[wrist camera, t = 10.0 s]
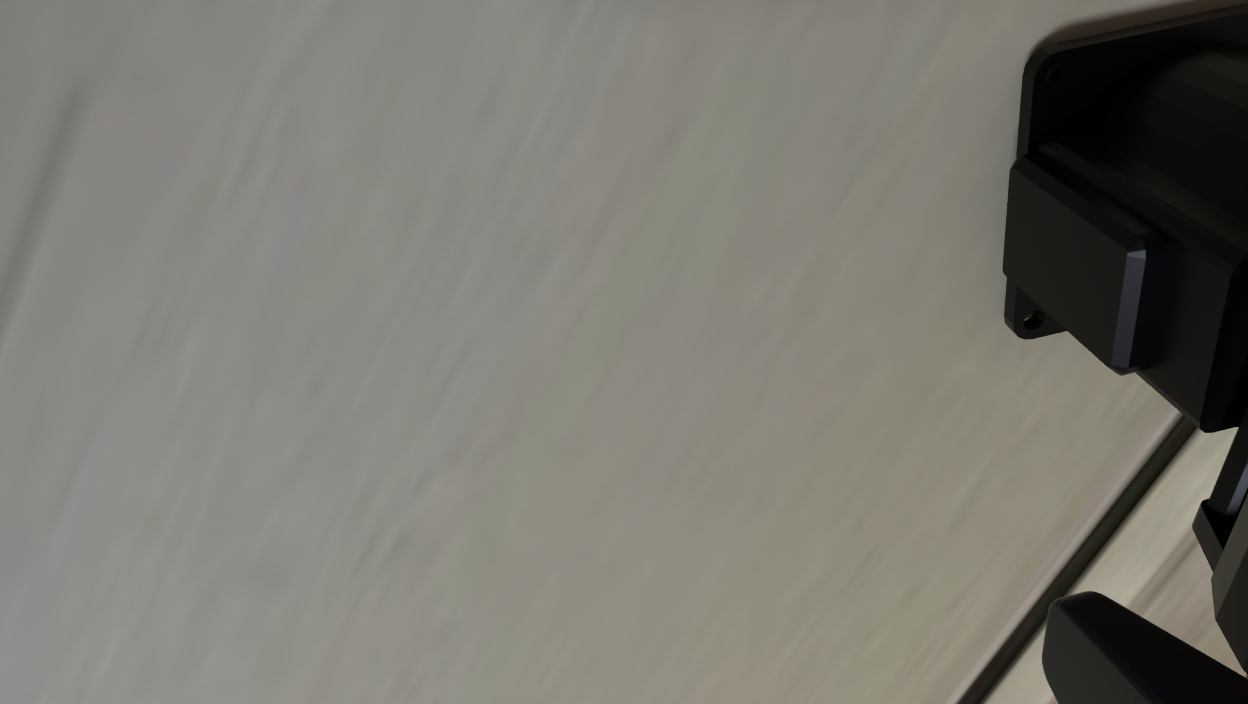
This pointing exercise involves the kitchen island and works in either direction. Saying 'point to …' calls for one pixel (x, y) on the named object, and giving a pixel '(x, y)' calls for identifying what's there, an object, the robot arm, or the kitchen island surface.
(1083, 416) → the kitchen island surface
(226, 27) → the kitchen island surface
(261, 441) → the kitchen island surface
